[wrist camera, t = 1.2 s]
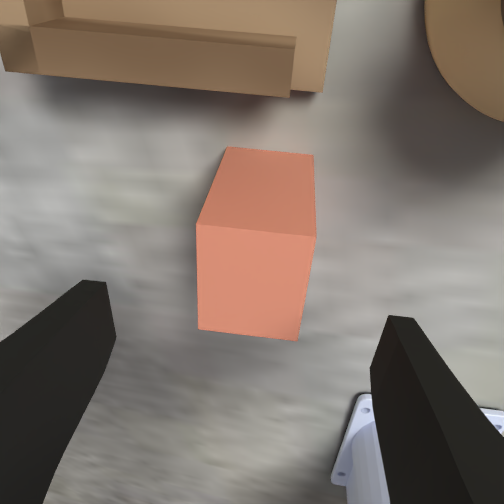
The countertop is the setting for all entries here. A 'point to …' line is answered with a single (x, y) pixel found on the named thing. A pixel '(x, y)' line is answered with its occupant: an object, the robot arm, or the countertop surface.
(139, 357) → the countertop surface
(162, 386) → the countertop surface
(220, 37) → the notch board
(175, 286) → the countertop surface
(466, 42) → the bobbin
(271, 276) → the pink rectangular block
